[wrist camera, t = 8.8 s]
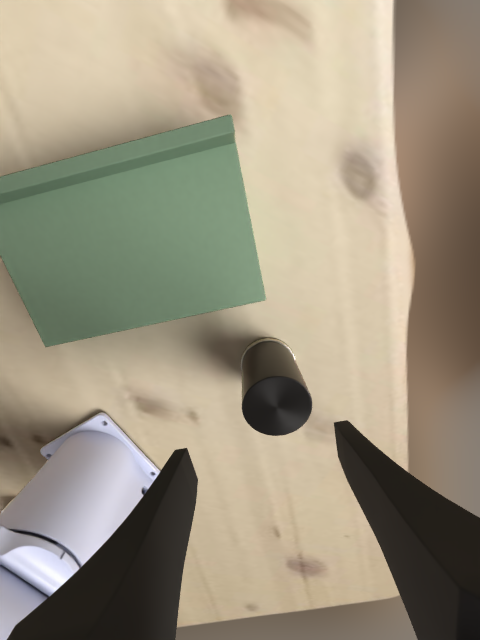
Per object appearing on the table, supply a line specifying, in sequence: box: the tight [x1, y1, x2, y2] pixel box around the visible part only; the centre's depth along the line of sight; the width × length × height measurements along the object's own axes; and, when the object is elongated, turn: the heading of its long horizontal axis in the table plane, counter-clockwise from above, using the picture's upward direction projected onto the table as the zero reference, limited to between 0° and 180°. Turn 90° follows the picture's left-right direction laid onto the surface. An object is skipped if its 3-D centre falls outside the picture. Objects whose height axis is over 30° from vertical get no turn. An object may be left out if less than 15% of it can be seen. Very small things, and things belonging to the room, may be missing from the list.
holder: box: [241, 338, 312, 436], centre depth 19 cm, size 5×5×6 cm
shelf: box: [0, 115, 266, 347], centre depth 17 cm, size 10×16×4 cm, turn 102°
